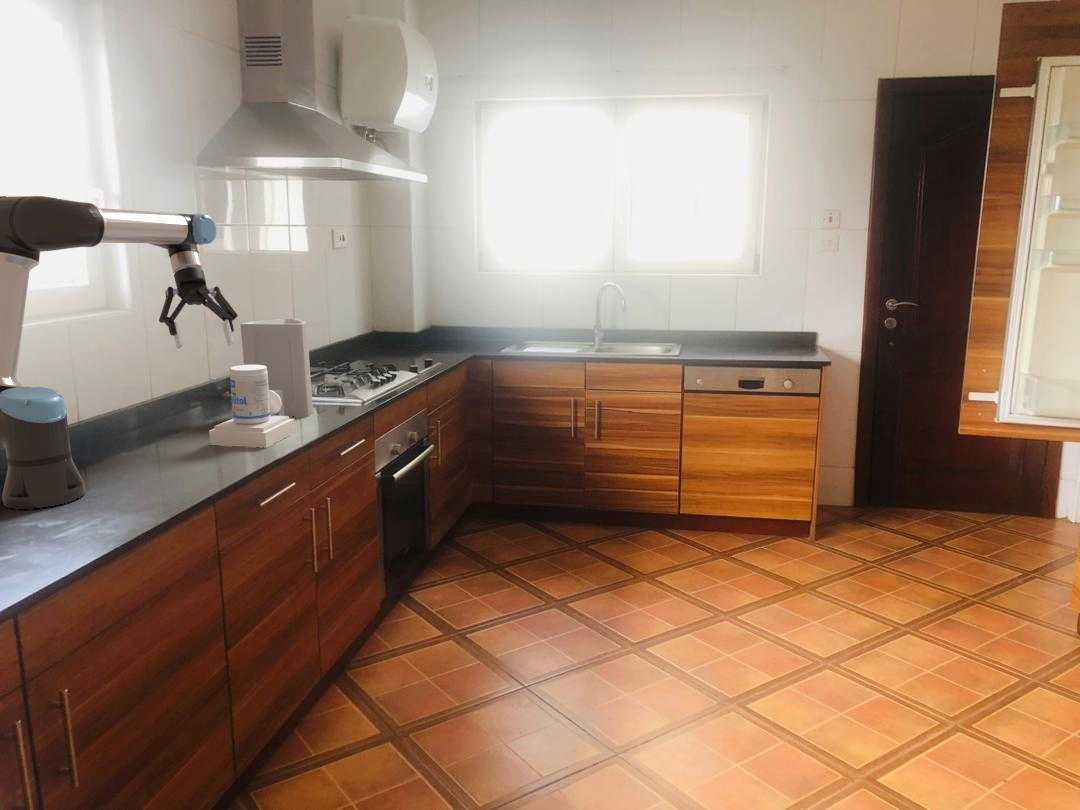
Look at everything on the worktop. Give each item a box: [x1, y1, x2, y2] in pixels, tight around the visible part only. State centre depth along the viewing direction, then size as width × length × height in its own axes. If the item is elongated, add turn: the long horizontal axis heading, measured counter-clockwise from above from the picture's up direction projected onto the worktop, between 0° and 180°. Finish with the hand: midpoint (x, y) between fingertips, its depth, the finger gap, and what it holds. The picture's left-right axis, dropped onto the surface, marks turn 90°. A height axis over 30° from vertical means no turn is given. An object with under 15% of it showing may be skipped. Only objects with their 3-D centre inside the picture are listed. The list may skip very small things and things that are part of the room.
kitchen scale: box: [208, 390, 296, 449], centre depth 226 cm, size 21×16×12 cm
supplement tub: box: [229, 364, 270, 424], centre depth 223 cm, size 10×10×15 cm
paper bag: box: [239, 318, 314, 418], centre depth 256 cm, size 19×15×28 cm
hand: (206, 345), depth 222 cm, fingers open, 13 cm apart
